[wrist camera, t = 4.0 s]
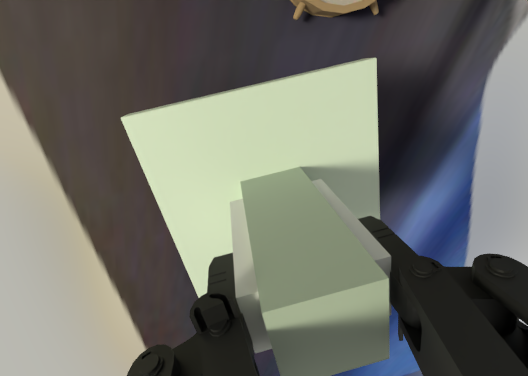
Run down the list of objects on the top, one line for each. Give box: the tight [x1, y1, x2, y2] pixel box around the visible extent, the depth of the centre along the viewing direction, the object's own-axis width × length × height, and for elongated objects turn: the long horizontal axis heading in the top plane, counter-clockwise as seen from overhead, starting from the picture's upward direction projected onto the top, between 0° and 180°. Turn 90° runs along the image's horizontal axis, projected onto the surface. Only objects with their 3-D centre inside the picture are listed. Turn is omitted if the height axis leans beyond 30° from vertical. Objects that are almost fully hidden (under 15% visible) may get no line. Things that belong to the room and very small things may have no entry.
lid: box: [121, 58, 389, 376], centre depth 12 cm, size 13×13×10 cm
